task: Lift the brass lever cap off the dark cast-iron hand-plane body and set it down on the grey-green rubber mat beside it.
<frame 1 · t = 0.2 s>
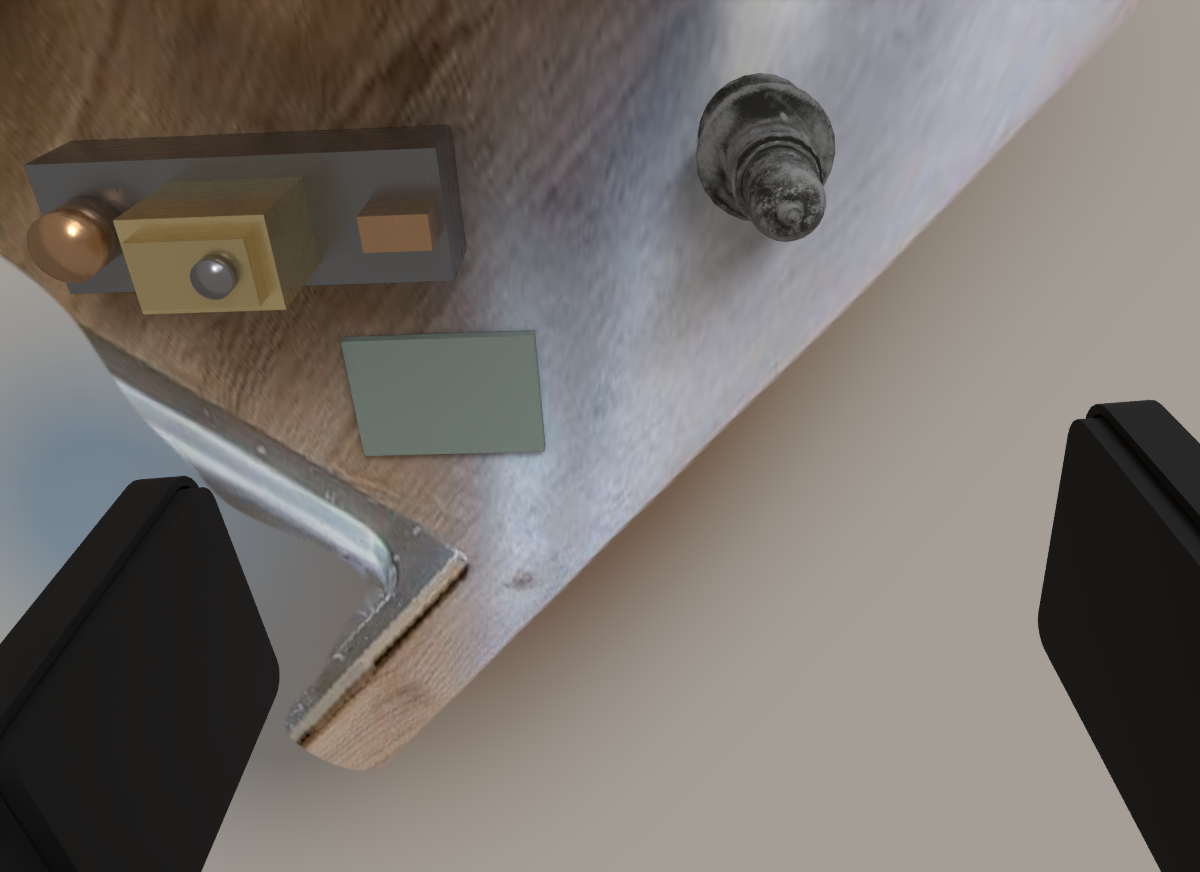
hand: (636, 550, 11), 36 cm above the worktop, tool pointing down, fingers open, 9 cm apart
salt shaker: (755, 132, 44), on the worktop
mat: (447, 392, 51), on the worktop
plane body: (273, 196, 46), on the worktop
lever cap: (244, 224, 42), point 4 cm above the worktop, touching plane body
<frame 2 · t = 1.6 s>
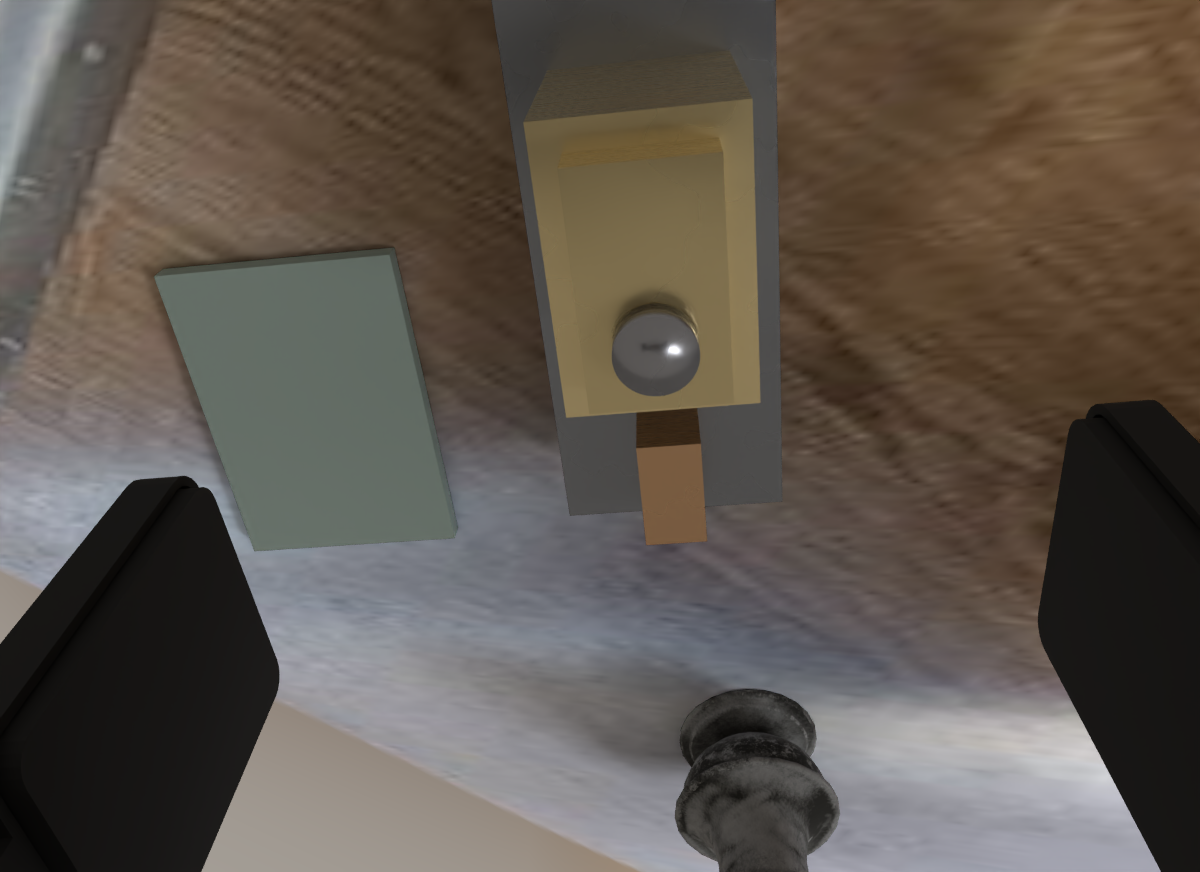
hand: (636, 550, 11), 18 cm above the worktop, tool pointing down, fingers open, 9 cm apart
salt shaker: (747, 734, 37), on the worktop
mat: (321, 407, 30), on the worktop
plane body: (648, 151, 26), on the worktop
lever cap: (649, 195, 22), point 4 cm above the worktop, touching plane body
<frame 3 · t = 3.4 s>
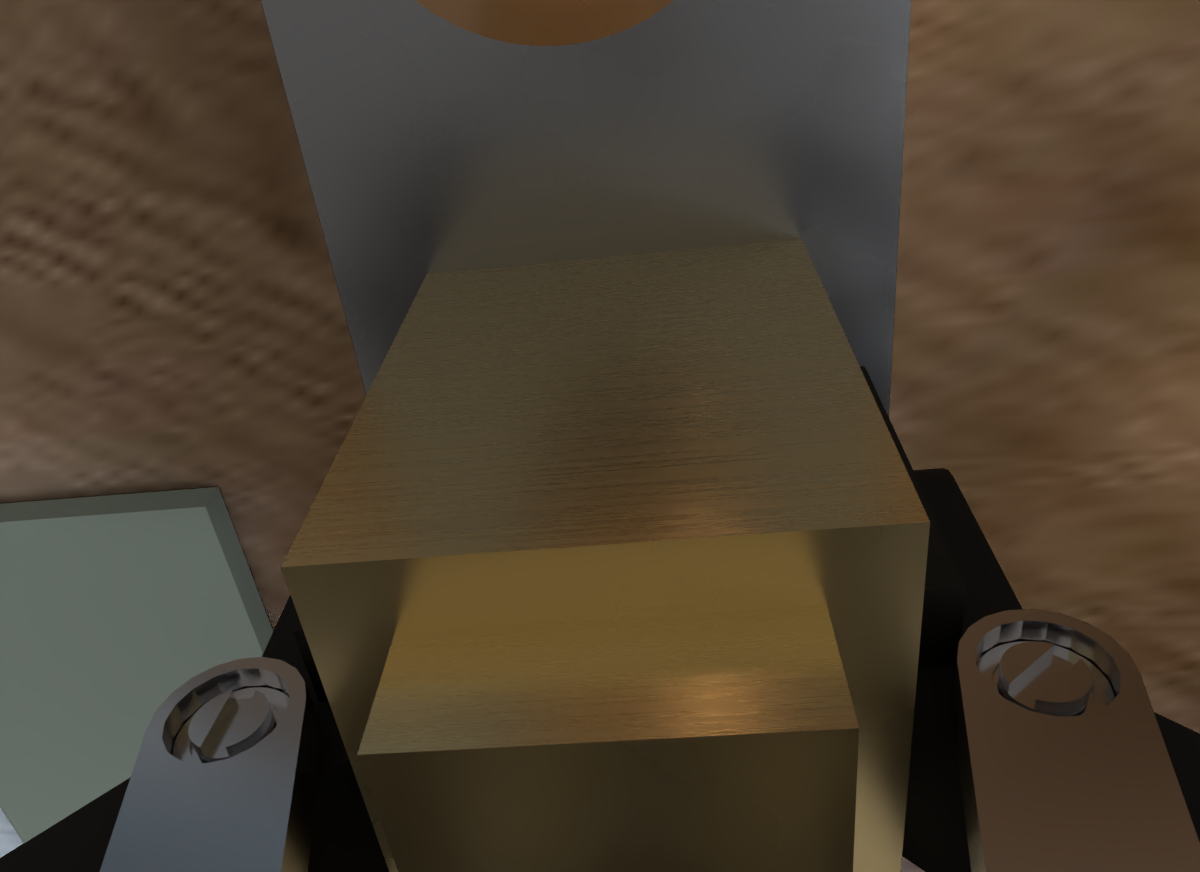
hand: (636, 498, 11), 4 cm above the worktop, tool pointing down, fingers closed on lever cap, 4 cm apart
mat: (130, 701, 20), on the worktop
plane body: (635, 346, 15), on the worktop
lever cap: (636, 489, 12), point 4 cm above the worktop, touching gripper, plane body
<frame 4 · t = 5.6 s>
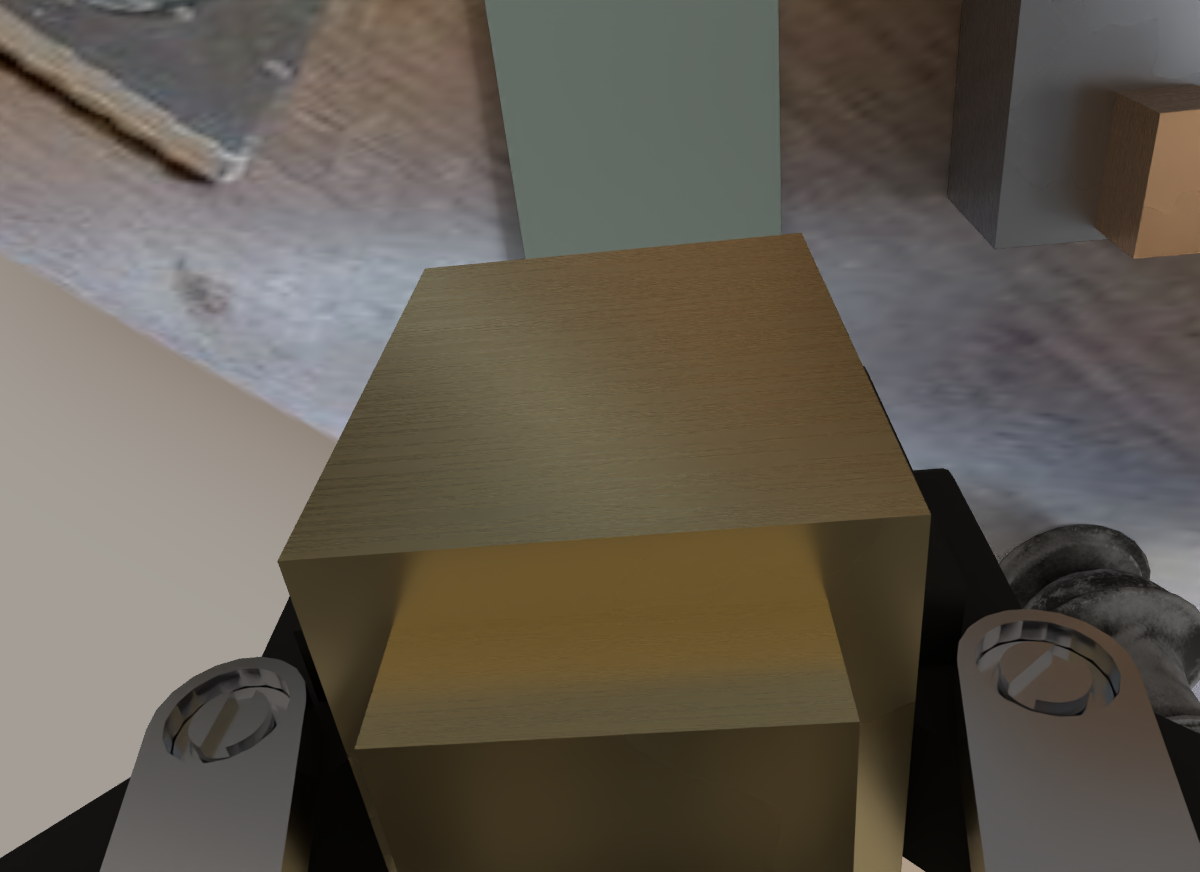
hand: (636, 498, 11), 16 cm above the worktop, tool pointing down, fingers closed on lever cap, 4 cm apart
salt shaker: (1064, 584, 33), on the worktop
mat: (644, 152, 25), on the worktop
lever cap: (635, 485, 12), point 16 cm above the worktop, touching gripper
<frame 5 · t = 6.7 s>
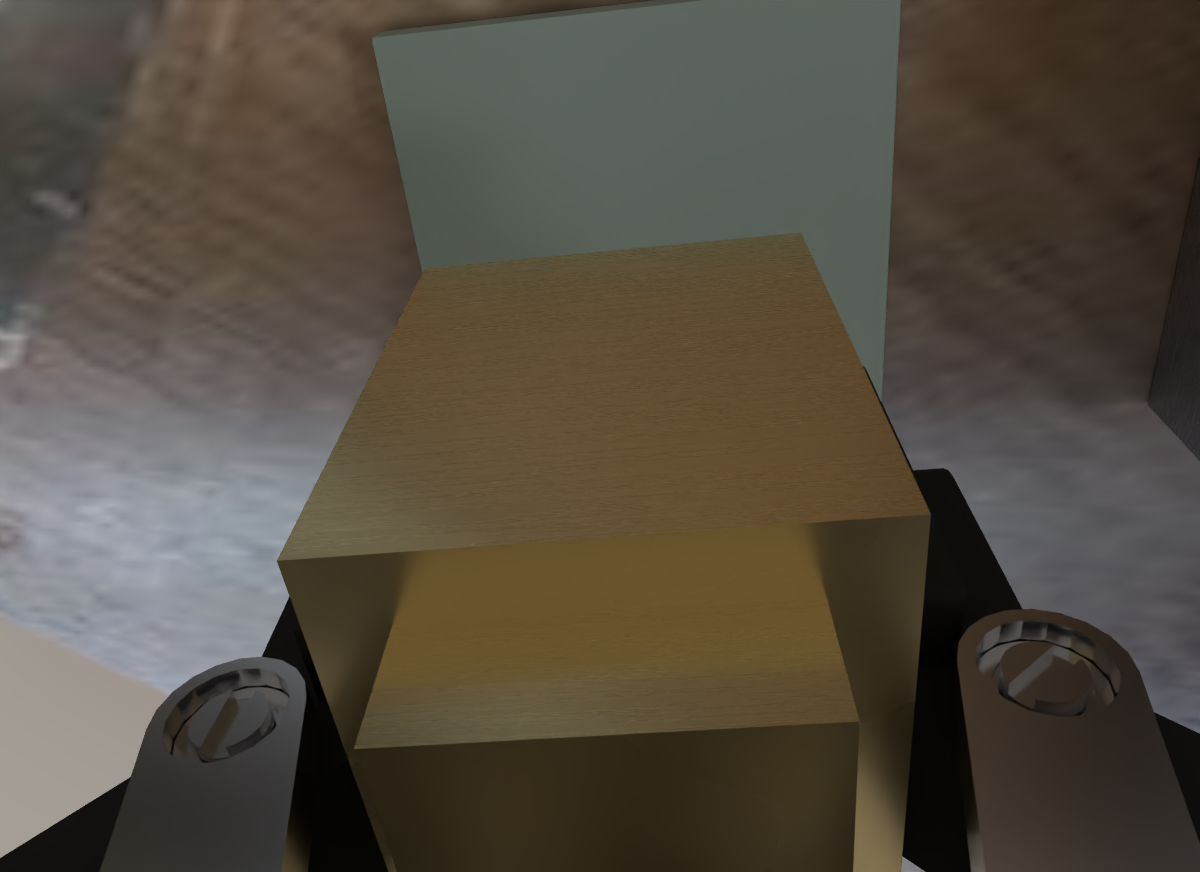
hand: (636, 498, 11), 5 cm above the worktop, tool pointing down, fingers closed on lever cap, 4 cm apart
mat: (658, 334, 16), on the worktop
lever cap: (635, 485, 12), point 5 cm above the worktop, touching gripper
when the fingers open (2 cm above the worktop, at t = 7.7 s): lever cap stays where it is, resting on mat.
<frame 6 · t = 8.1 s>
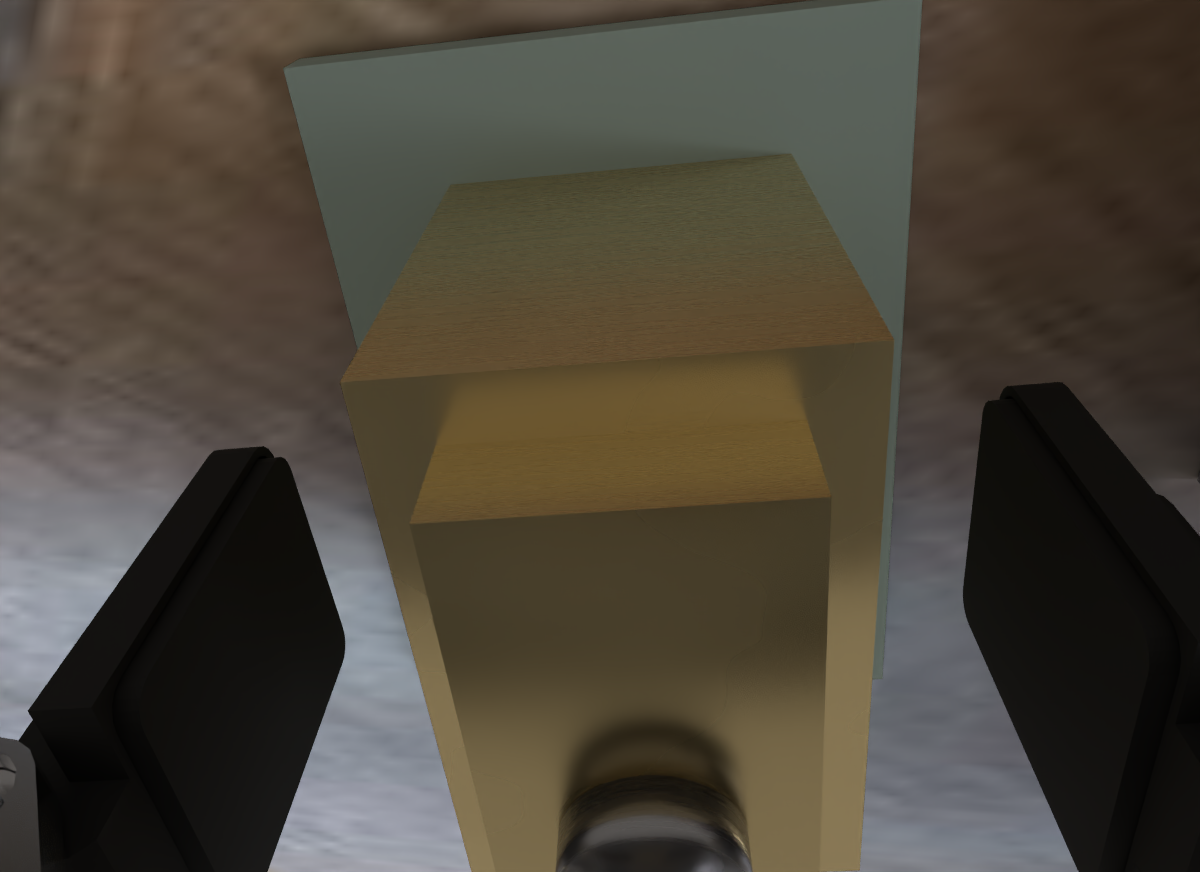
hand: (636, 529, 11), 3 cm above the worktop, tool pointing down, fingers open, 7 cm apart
mat: (635, 405, 13), on the worktop
lever cap: (638, 394, 13), point 1 cm above the worktop, touching mat
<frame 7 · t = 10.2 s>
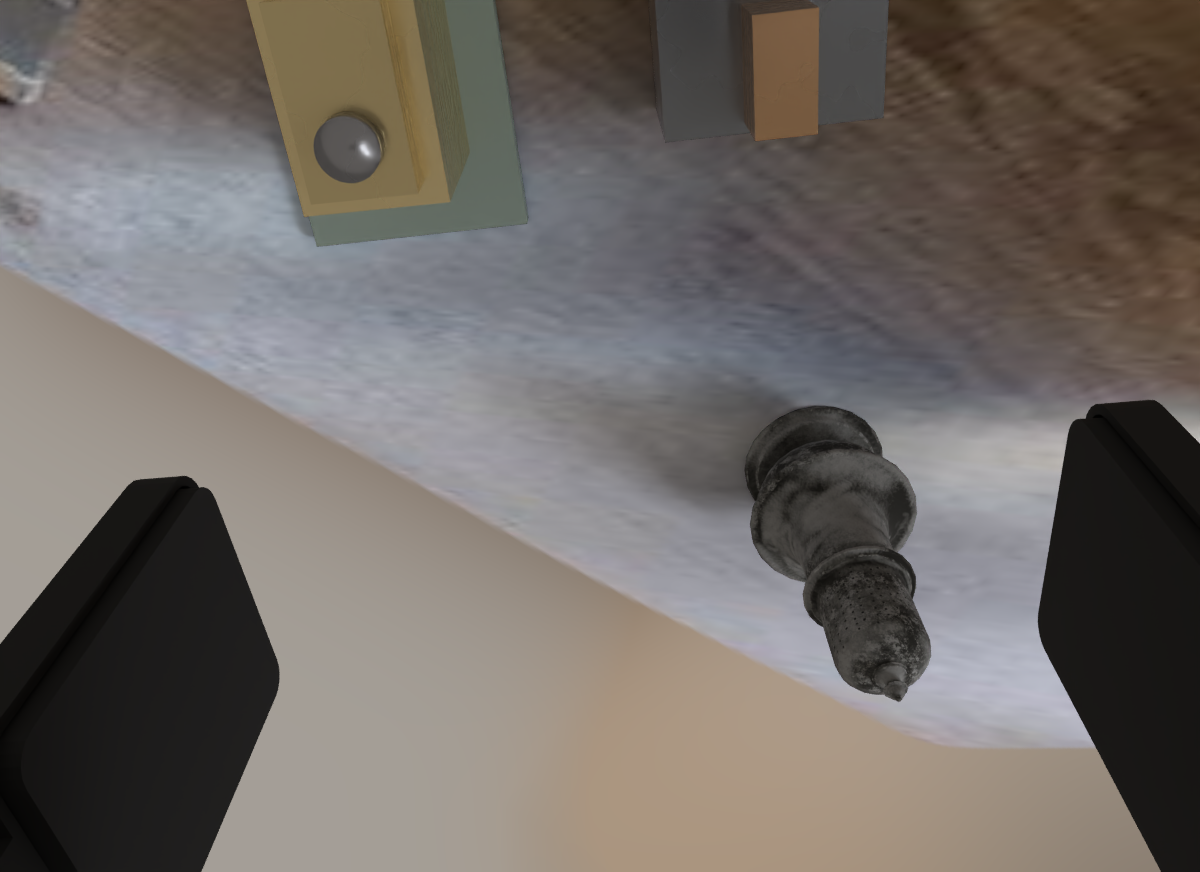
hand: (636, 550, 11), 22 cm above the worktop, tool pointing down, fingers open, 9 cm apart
salt shaker: (812, 462, 37), on the worktop
mat: (391, 72, 29), on the worktop
lever cap: (386, 58, 28), point 1 cm above the worktop, touching mat
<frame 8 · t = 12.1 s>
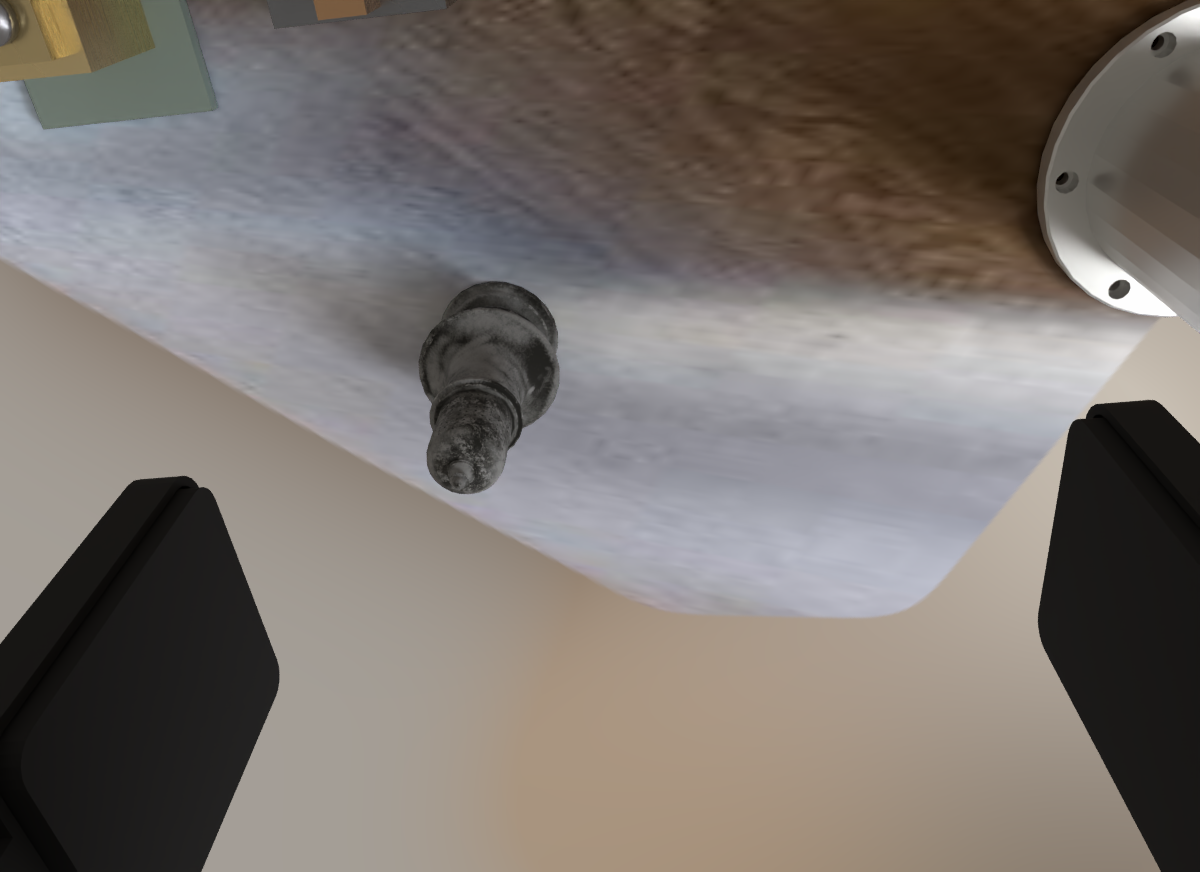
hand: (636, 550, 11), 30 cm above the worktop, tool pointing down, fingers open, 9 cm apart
salt shaker: (499, 335, 43), on the worktop
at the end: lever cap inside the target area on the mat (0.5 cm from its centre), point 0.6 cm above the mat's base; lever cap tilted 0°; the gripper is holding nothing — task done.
